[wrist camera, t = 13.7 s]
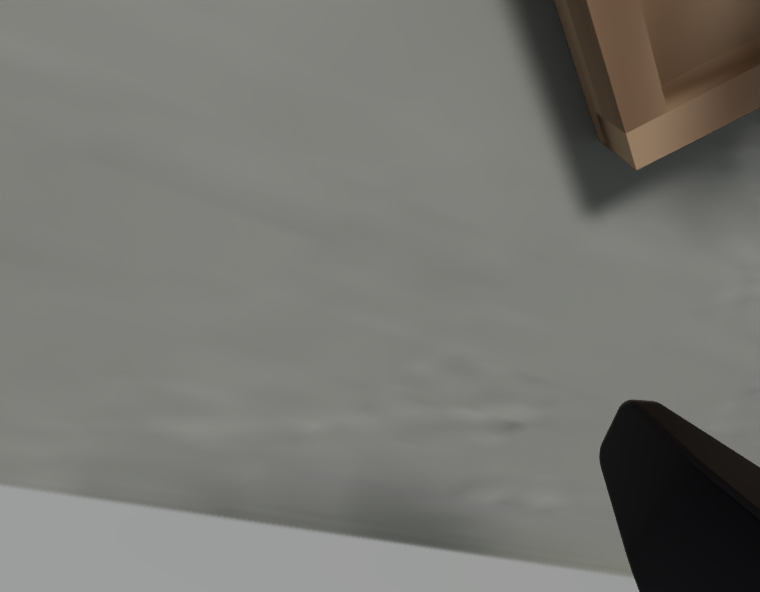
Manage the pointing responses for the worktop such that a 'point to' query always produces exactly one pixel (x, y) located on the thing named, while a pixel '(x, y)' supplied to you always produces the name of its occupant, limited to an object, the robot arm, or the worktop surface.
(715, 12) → the walnut tray
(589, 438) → the worktop surface
